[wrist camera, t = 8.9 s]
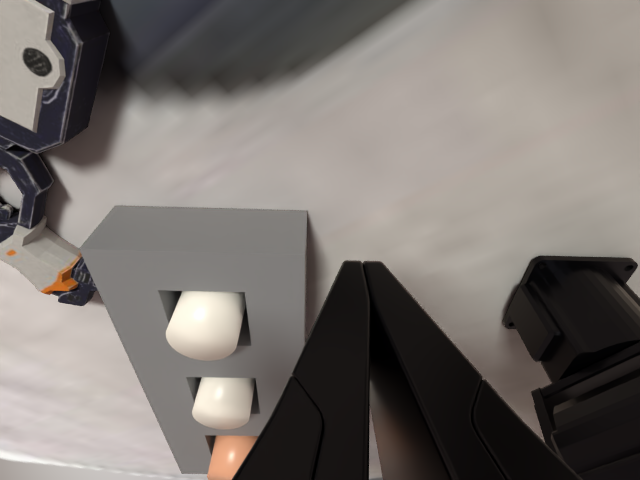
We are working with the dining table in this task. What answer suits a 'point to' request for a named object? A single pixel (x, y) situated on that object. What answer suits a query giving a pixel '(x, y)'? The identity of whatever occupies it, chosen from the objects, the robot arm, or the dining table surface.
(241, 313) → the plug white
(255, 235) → the socket board
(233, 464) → the plug terracotta
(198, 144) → the dining table surface
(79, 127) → the toy gun
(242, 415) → the plug white mid
